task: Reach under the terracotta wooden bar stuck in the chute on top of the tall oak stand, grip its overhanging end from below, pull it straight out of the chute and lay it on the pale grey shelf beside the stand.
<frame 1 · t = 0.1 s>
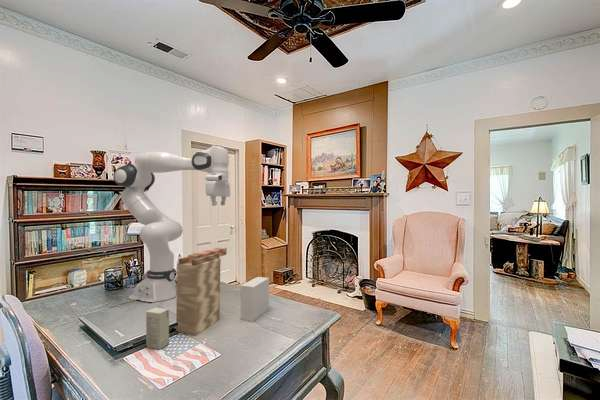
hand: (218, 205, 141), 48 cm above the table, tool pointing down, fingers open, 8 cm apart
bar: (208, 258, 119), point 26 cm above the table, touching chute stand
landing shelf: (255, 314, 126), on the table
chute stand: (198, 325, 113), on the table
skincare box: (157, 345, 98), on the table
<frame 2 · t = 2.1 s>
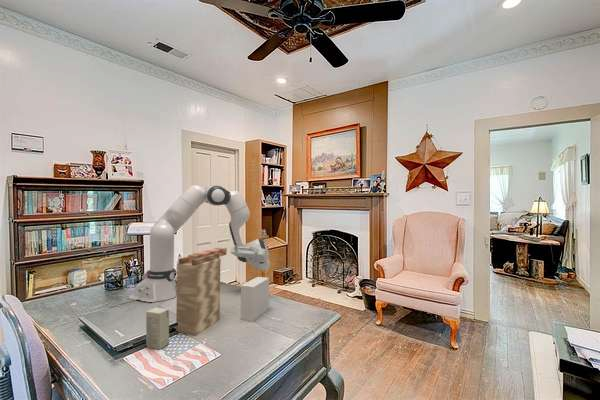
hand: (242, 247, 145), 27 cm above the table, tool pointing upward, fingers open, 8 cm apart
nothing on the table moved.
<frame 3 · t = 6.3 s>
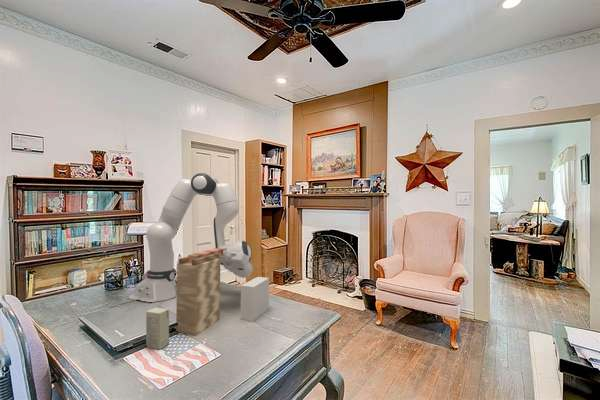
hand: (217, 251, 125), 28 cm above the table, tool pointing upward, fingers closed on bar, 4 cm apart
bar: (208, 258, 119), point 26 cm above the table, touching chute stand, gripper
everything else where it was.
when the fingers open (19 cm above the table, at t = 15.8 s): bar drops 2 cm, resting on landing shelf.
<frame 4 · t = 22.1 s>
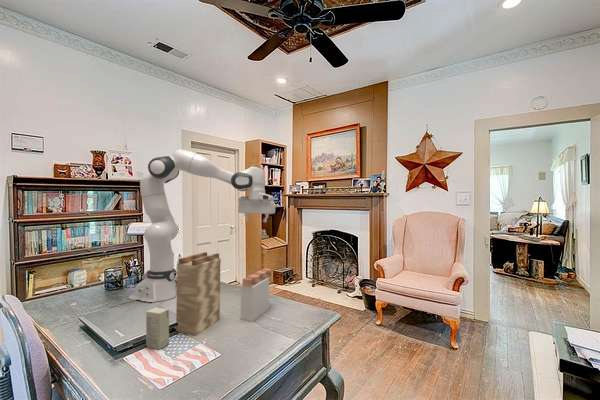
hand: (256, 222, 152), 39 cm above the table, tool pointing down, fingers open, 8 cm apart
bar: (257, 280, 128), point 14 cm above the table, touching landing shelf
everything else where it was.
at the end: bar inside the target area (0.1 cm from its centre), point 14.5 cm above the table; bar tilted 0°; the gripper is holding nothing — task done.
